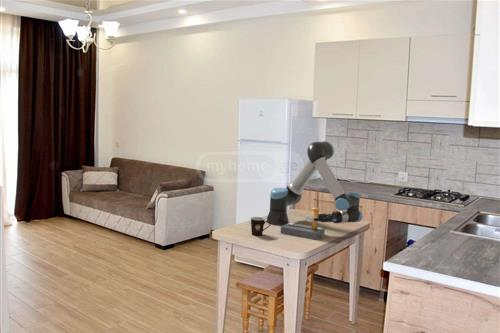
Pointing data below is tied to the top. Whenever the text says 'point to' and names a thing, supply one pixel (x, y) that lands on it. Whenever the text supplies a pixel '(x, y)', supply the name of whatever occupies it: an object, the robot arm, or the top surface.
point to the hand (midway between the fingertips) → (307, 218)
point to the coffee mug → (257, 225)
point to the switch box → (302, 231)
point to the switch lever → (315, 214)
